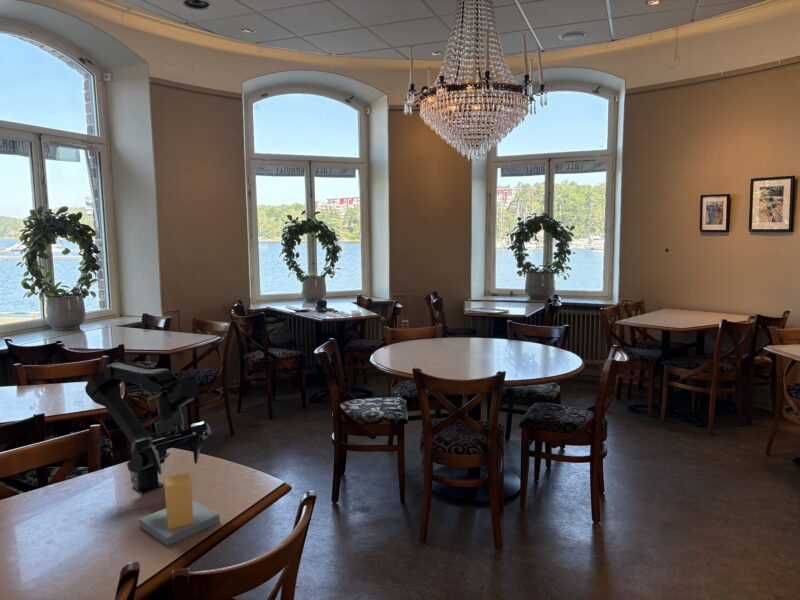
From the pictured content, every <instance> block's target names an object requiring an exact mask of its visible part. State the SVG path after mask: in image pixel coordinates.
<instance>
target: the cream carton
mask: <svg viewBox="0 0 800 600" xmlns="http://www.w3.org/2000/svg"><path fill="white" fill-rule="evenodd" d="M163 478H164V479H163V481H164V482H163V484H164V494H165V495H164V497H165V508H166V516H167V522H168V527H169V529H172V528H176V527H180V526H184V525H189V524H193V506H192V500H193V493H192V492H193V490H192V489H193V488H192V480H191V477H190V474H189V472H183V473H180V474H179V473H178V474H174V475H169V476H164V477H163Z"/></svg>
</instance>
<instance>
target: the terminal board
mask: <svg viewBox="0 0 800 600" xmlns="http://www.w3.org/2000/svg"><path fill="white" fill-rule="evenodd" d="M192 506H193V524H189V525H184V526H180V527H176V528H172V529H169V527H168V522H167V516H166V507H165V508H163V509H161V510H158V511H156V512H154V513H151V514H148V515H145V516H143V517H140V518H139V519H138V525H139V528H141V529H142V530H143V531H145V532H147V534H149V535H151V536H152V537H153V538H155V539H157V540H158V541H159V542H161V543H163V544H164V545H166V547H168V546H171V545H173V544H175V543H177V542H179V541H181V540H184V539H186V538H188V537H190V536H192V535H195V534H197V533H198V532H201V531H203V530H205V529H208V528H210V527H212V526H215V525H216V524H218V523H220V522H221V519H220V514H219V513H218V512H216V511H214V510H212V509H210V508H209V507H206V506H205V505H203V504H201V503H199V502H197V500H194V499H192Z"/></svg>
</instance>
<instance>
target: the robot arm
mask: <svg viewBox="0 0 800 600" xmlns="http://www.w3.org/2000/svg"><path fill="white" fill-rule="evenodd" d="M123 382H126V383H130V384H135V385H138V386H139V388H140V389H141V390H142V391H145V392H146V393H149V394H155V393H156V394H155V396H154V397H153V399H152V400H151V402H152V403H153V404H156V406H157V412H158V414H157V415H158V417H157V420H158V421H156V422H155V423H154V428H155V432H152V433H149V432H148V431H147V430H146V429H145V428H144V426H143V425H142V423H141V422H140V420H138V419H139V418H137V416H135V414H134V412H133V411H132V410H131V408H130V407H129V406H128V405H127V403H126V402H125V400H124V399H123V398H122V396H121V394H122V386H121V384H122V383H123ZM84 388H85V389H84V390H85V394H86V395H87V396H88V397H89V398H90V399H91V400H92V401H93V402H94V403H95V404H98V405H100V406H103V407H104V408H105V409H106V410H107V412H108V413H109V414H110V416H111V417H112V419H113V421H114V422H115V423H116V424H117V426H118V427H119V429H120V430H121V431H122V432H123V434H124V435H125V437H126V438H127V440H128V441H129V442H130V445H131V446H130V454H131V456H132V457H131V458H130V460H129V461H128V462H127V464H126V465H127V469H128V471H129V472H130V471H131V472H135V473H136V476H137V477H136V484H132V487H131V488H132V489H134V490H135V491H136V492H138V493H140V494H146V493H149V492H151V491H154V490H157V489H159V488H162V487H165V483H164V482H161V481H159V475H162V464H164V463H165V461H166V457H167V456H166V452H168V449H167V446H166V443H170V442H175V441H177V440H181V439H184V438H189V437H191V440H192V448H193V451H192V452H193V460H194V464H196V465H197V464H198V461H199V457H200V453H201V448H202V445H203V443H204V441H205V440H206V439H208V436H210V435H212V429H211V426H210V425H209V423H208V422H206V421H200V422H196V423H192V424H191V425H190V427H191V428H188V429H185V428H184V424H185V419H184V415H183V413H182V411H181V410H182V409H181V407H183V406H185V405H186V404H188V403H190V402H191V401H193V400H195V399H196V398H198V396H199V395H200V386H199V385H198V384H197V383H196V382H195V381H194V380H192V379H189V378H188V375H184V376H181V377H178V376H177V375H175V374H174V373H173V372H172V371H171V370H170V369H169V368H155V369H146V368H143V367H142V368H141V367H137V366H133V365H129V364H125V363H123V362H115V363H110V364H107V365H105V366H104V367H103V369H102V370H101V371H99V372H98V373H96V374H95V375H94V376H92V377H91V378H90V380H89V379H88V381H87V383H86V384H85V387H84Z"/></svg>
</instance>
